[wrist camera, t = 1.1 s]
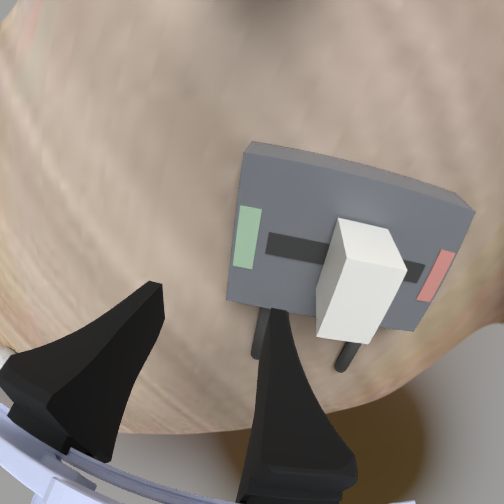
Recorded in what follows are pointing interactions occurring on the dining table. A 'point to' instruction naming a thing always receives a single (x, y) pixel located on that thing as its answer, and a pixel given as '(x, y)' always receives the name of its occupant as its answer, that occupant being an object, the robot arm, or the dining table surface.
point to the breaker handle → (357, 282)
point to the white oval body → (5, 355)
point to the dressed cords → (261, 326)
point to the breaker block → (323, 224)
